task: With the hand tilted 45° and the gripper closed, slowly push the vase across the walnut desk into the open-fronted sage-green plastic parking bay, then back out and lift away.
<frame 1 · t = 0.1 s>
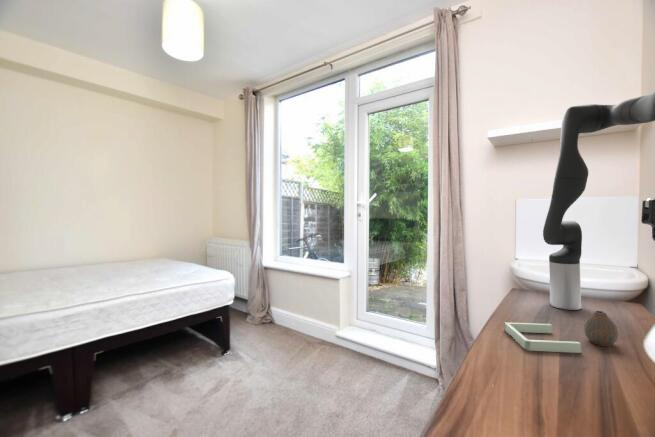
vase: (601, 343, 81), on the worktop
bay: (541, 340, 84), on the worktop
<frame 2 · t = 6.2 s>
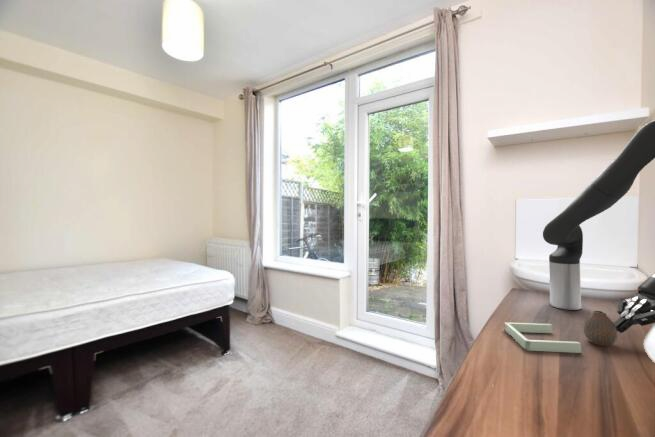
hand: (616, 329, 80), 4 cm above the worktop, tool tilted 45°, fingers closed
vase: (600, 343, 81), on the worktop, touching gripper
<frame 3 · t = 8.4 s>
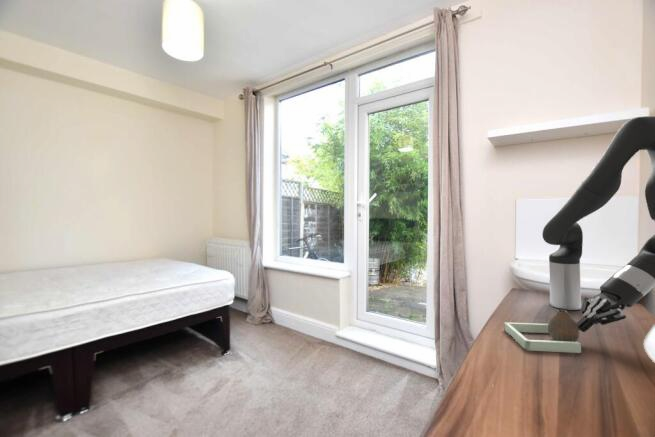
hand: (578, 329, 82), 4 cm above the worktop, tool tilted 45°, fingers closed
vase: (563, 342, 82), on the worktop, touching gripper
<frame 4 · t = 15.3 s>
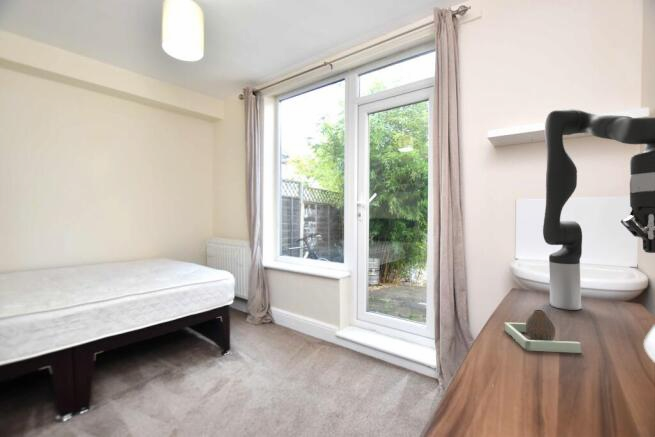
hand: (651, 252, 80), 25 cm above the worktop, tool pointing down, fingers closed
vase: (540, 341, 84), on the worktop
at the end: vase inside the target area on the bay (0.6 cm from its centre), point 0.0 cm above the bay's base; vase tilted 0°; vase moved 15.2 cm from its start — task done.
